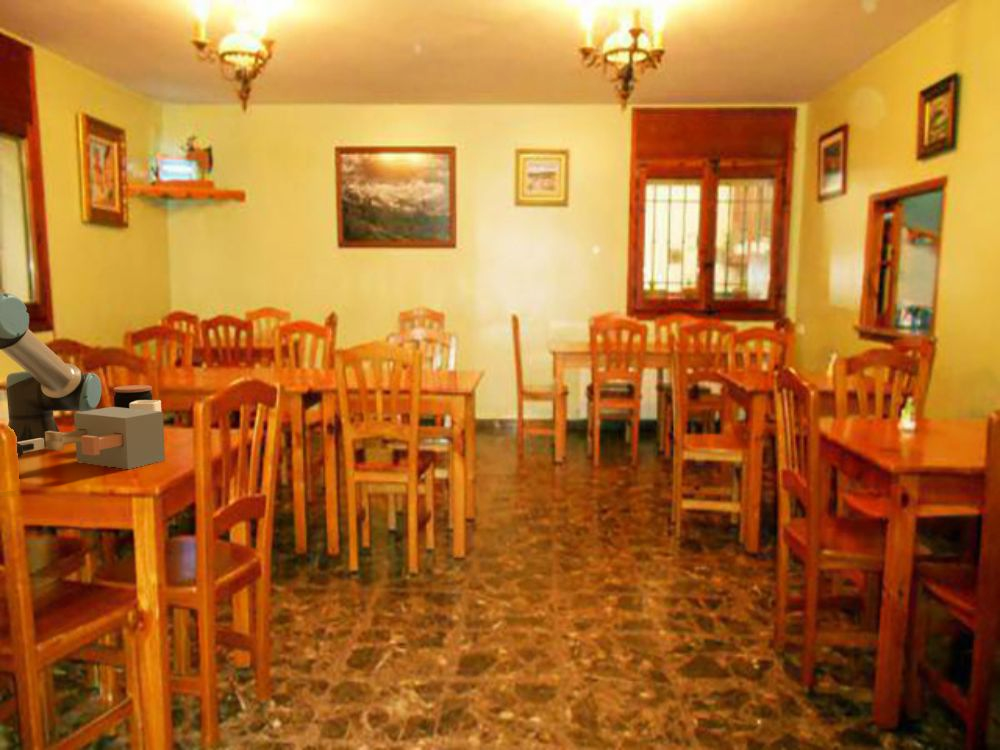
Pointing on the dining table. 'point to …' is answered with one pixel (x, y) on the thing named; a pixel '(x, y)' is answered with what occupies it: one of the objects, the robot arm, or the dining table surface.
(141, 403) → the cup
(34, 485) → the dining table surface
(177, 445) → the dining table surface
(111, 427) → the wall block
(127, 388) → the coffee jar
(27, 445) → the robot arm
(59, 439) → the pale plunger
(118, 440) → the terracotta plunger
